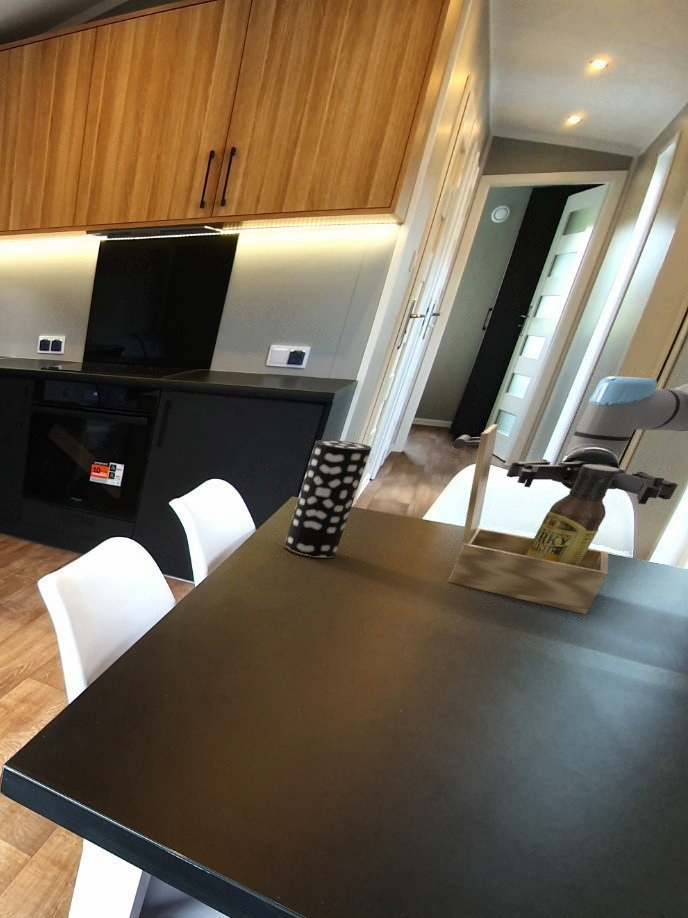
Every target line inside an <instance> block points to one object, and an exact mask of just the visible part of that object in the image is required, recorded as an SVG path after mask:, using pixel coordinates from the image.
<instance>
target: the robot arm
mask: <svg viewBox="0 0 688 918" xmlns="http://www.w3.org/2000/svg"><path fill="white" fill-rule="evenodd" d="M657 386H658V381H657V380H656V379H655V378H648V377H639V376H638V377H637V376H636V377H635V376H618V375H617V376H614V375H612V376H606V377H604V378H602V379H601V380H600V381H599V382H598V384H597V386H596V387H595V389H594V391H593V393H592V394H591V396H590V397H589V399H588V403H587V405H586V407H585V410H584V412H583V414H582V416H581V419H580V420H579V422H578V425H577V427H576V429H575V432H574V433H573V435H572V437H571V439H570V441H569V443H568V445H567V447H566V450H564V452H563V454H562V456H561V458H560V462H559V463H558V464H551V461H549V460H548V459H546V458H545V459H544V458H542V459H538V460H528V461H514V462H511V464H510V466H509V469H508V470H507V473H506V477H507V478H518V479H517V481H516V482H517V483H518V484H524V486H523V487H524V488H530V487H532V484H533V482H534V481H535V480H536V481H538V480H539V481H540V480H541V481H544V480H547V481H549V480H550V481H552V482H556V483H560V484H562V486H564V487H565V488H566V489H569V490H571V489H572V487H573V485H574V483H575V481H576V480H577V477H578V473H579V470H580V469H581V467H582V466H583V465H585V464H593V465H602V466H608V467H613V468H617V469H619V473H618V475H617V477H616V478H615V479H614V480H613V481H612V483H611V484H610V486H609V488H608V490H619V491H620V490H621V491H624V492H628V493H630V494H631V493H632V494H635V495H637V496H636V499H637V503H638V504H640V505H647V502H648V501H649V499H658V498H660V499H662V500H671V499H672V497H673V495H674V493H675V492H676V489H677V488H678V486H679V484H678V483H676V482H672V481H669V480H665V478H664V477H655V476H653V475H650V474H648V473H646V472H644V471H636V472H632V474H628V473H626V470H624V469H621V468H620V463H619V461H620V458H621V457H622V455H623V453H624V451H625V449H626V447H627V445H628V444H629V441H630V439H631V438H632V435H633V434H634V431H635V430H636V431H638V430H639V431H640V430H641V431H672V432H686V431H687V432H688V382H687V383H685V384H682V385H680V386H677V387H675V388H657Z"/></svg>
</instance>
